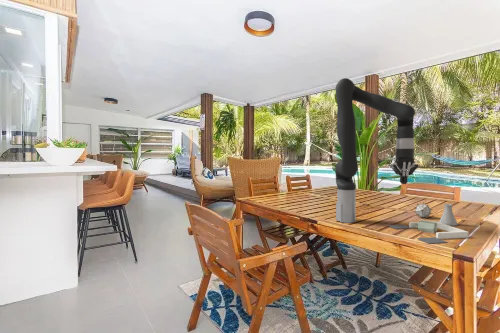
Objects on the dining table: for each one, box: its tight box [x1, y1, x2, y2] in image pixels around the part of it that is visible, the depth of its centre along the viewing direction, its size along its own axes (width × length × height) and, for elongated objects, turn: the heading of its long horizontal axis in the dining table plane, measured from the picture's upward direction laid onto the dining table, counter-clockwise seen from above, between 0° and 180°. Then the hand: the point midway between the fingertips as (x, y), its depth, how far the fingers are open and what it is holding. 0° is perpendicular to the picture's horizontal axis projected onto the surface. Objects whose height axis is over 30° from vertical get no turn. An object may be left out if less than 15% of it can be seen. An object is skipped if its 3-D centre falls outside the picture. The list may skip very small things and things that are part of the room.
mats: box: [387, 223, 448, 245], centre depth 112 cm, size 8×26×1 cm, turn 4°
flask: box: [438, 203, 459, 227], centre depth 125 cm, size 7×7×10 cm
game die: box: [414, 202, 433, 219], centre depth 139 cm, size 9×8×10 cm
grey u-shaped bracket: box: [408, 220, 469, 240], centre depth 113 cm, size 14×17×2 cm
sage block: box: [417, 219, 438, 234], centre depth 116 cm, size 6×6×4 cm
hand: (403, 183), depth 121 cm, fingers closed
